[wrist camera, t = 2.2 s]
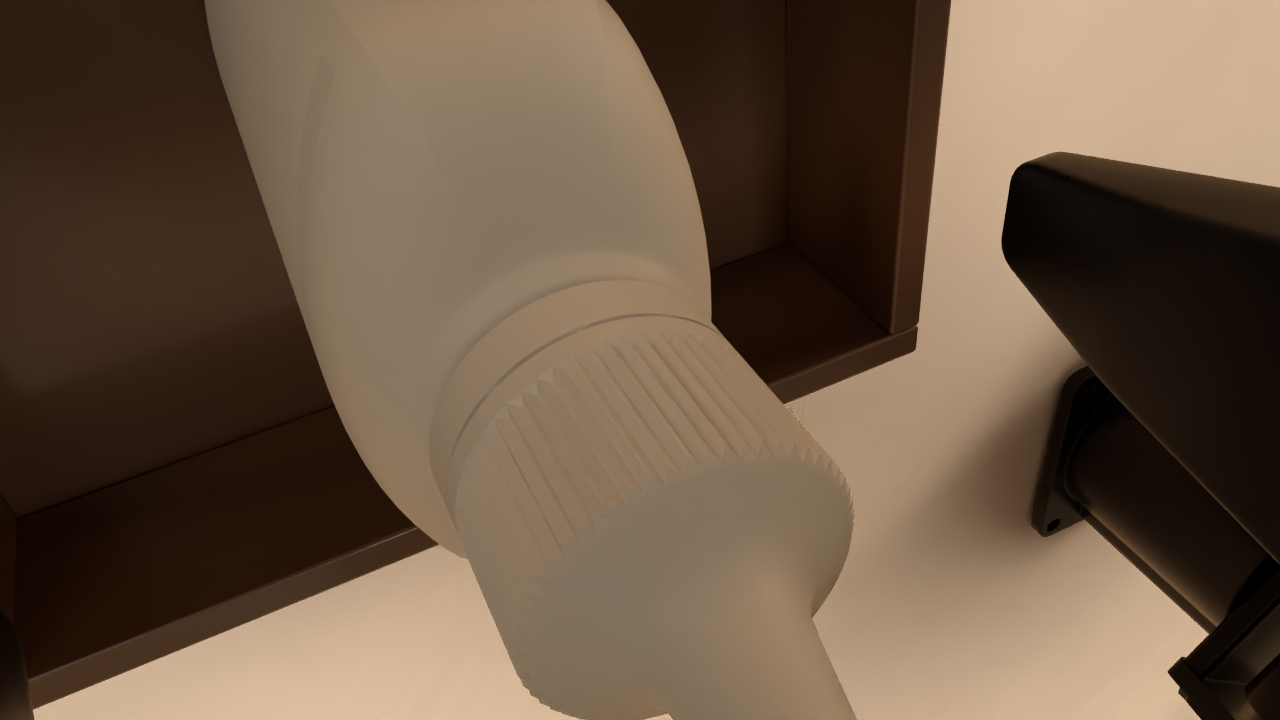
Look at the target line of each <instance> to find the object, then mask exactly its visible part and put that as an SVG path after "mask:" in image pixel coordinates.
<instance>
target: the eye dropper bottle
mask: <svg viewBox="0 0 1280 720" xmlns="http://www.w3.org/2000/svg"><path fill="white" fill-rule="evenodd" d="M204 2H205V8H206V15H207V22H208V28H209V32H210V37H211V42H212V47H213V51H214V55H215V59H216V62H217V66H218V70H219V73H220V77H221V80H222V83H223V86H224V89H225V92H226V94H227V97H228V100H229V103H230V106H231V109H232V112H233V115H234V118H235V121H236V124H237V127H238V130H239V133H240V135H241V138H242V141H243V144H244V147H245V150H246V153H247V156H248V159H249V162H250V165H251V168H252V171H253V174H254V176H255V179H256V182H257V185H258V188H259V191H260V194H261V197H262V200H263V203H264V206H265V209H266V212H267V214H268V217H269V220H270V223H271V226H272V229H273V232H274V235H275V238H276V241H277V244H278V247H279V249H280V252H281V255H282V258H283V261H284V264H285V267H286V270H287V273H288V276H289V279H290V282H291V284H292V287H293V290H294V293H295V296H296V299H297V302H298V305H299V308H300V311H301V314H302V317H303V319H304V322H305V325H306V328H307V331H308V334H309V337H310V339H311V342H312V345H313V348H314V351H315V354H316V357H317V360H318V362H319V365H320V368H321V371H322V374H323V377H324V380H325V382H326V385H327V387H328V390H329V392H330V395H331V397H332V400H333V403H334V405H335V407H336V409H337V412H338V414H339V416H340V418H341V421H342V423H343V425H344V427H345V430H346V431H347V433H348V435H349V437H350V439H351V441H352V442H353V444H354V446H355V448H356V450H357V451H358V453H359V455H360V457H361V458H362V460H363V462H364V463H365V465H366V467H367V468H368V470H369V471H370V472H371V474H372V475H373V477H374V478H375V480H376V481H377V483H378V484H379V485H380V487H381V488H382V489H383V491H384V492H385V493H386V494H387V495H388V497H389V498H390V499H391V500H392V501H393V503H394V504H395V505H396V506H397V507H398V508H399V509H400V510H401V511H402V512H403V513H404V514H405V515H406V516H407V517H408V518H409V519H410V520H411V521H412V522H413V523H414V524H415V525H416V526H417V527H418V528H420V529H421V530H422V531H423V532H424V533H426V534H427V535H428V536H429V537H431V538H432V539H433V540H434V541H436V542H437V543H438V544H440V545H441V546H443V547H445V548H446V549H448V550H450V551H451V552H453V553H455V554H456V555H458V556H460V557H462V558H466V559H468V560H469V562H470V564H471V567H472V569H473V571H474V574H475V576H476V578H477V581H478V583H479V585H480V588H481V590H482V593H483V595H484V597H485V600H486V602H487V604H488V607H489V609H490V611H491V614H492V616H493V618H494V621H495V623H496V626H497V628H498V630H499V633H500V635H501V637H502V640H503V642H504V644H505V647H506V649H507V651H508V654H509V656H510V658H511V661H512V663H513V666H514V668H515V670H516V673H517V675H518V677H520V679H521V681H522V683H523V686H524V687H526V688H528V689H529V691H530V694H531V696H534V697H536V698H538V699H539V701H540V703H542V704H544V705H547V706H550V709H552V710H555V711H558V712H561V713H562V714H565V715H569V716H573V717H576V718H580V719H586V720H640V719H646V718H651V717H655V716H660V715H663V714H667V713H668V714H669V715H670V716H671V717H672V718H673V719H674V720H857V719H856V717H855V715H854V713H853V711H852V708H851V706H850V704H849V702H848V700H847V697H846V695H845V693H844V691H843V689H842V686H841V684H840V682H839V680H838V677H837V675H836V673H835V671H834V669H833V666H832V664H831V662H830V660H829V658H828V655H827V653H826V651H825V649H824V646H823V644H822V642H821V640H820V638H819V635H818V632H817V630H816V627H815V624H814V622H813V619H812V617H813V616H814V614H815V613H816V612H817V611H818V609H819V608H820V607H821V605H822V604H823V602H824V601H825V599H826V598H827V596H828V595H829V593H830V591H831V590H832V588H833V586H834V584H835V583H836V581H837V579H838V577H839V575H840V572H841V570H842V568H843V566H844V563H845V560H846V557H847V554H848V550H849V546H850V542H851V536H852V530H853V524H854V523H853V517H854V510H853V508H852V507H853V498H852V497H851V496H850V487H849V486H848V484H847V483H846V478H845V476H844V475H843V474H842V473H841V471H840V470H839V467H838V466H837V465H836V464H835V463H834V462H833V460H832V459H831V458H830V457H829V456H828V455H827V454H826V452H825V451H824V450H823V449H822V448H821V447H820V446H819V444H818V443H817V442H816V441H815V440H814V439H813V438H812V436H811V435H810V434H809V433H808V432H807V431H806V430H805V428H804V427H803V426H802V425H801V424H800V423H799V422H798V420H797V419H796V418H795V417H794V416H793V415H792V414H791V412H790V411H789V410H788V409H787V408H786V407H785V406H784V405H783V403H782V402H781V401H780V400H779V399H778V398H777V397H776V395H775V394H774V393H773V392H772V391H771V390H770V389H769V387H768V386H767V385H766V384H765V383H764V382H763V381H762V379H761V378H760V377H759V376H758V375H757V374H756V373H755V371H754V370H753V369H752V368H751V367H750V366H749V365H748V363H747V362H746V361H745V360H744V359H743V358H742V357H741V355H740V354H739V353H738V352H737V351H736V350H735V349H734V348H733V346H732V345H731V344H730V343H729V342H728V341H727V340H726V338H725V337H724V336H723V335H722V334H721V333H720V332H719V330H718V329H717V328H716V327H715V326H714V325H713V324H712V322H711V280H710V269H709V260H708V252H707V243H706V235H705V230H704V225H703V220H702V215H701V210H700V205H699V201H698V197H697V193H696V189H695V185H694V182H693V178H692V174H691V171H690V167H689V164H688V161H687V158H686V155H685V153H684V150H683V147H682V144H681V141H680V139H679V136H678V133H677V130H676V127H675V124H674V122H673V119H672V117H671V115H670V112H669V110H668V108H667V105H666V103H665V101H664V98H663V96H662V94H661V91H660V89H659V88H658V86H657V84H656V82H655V80H654V78H653V76H652V74H651V72H650V70H649V68H648V66H647V64H646V62H645V60H644V58H643V56H642V54H641V52H640V50H639V48H638V46H637V45H636V43H635V41H634V40H633V38H632V37H631V35H630V34H629V32H628V30H627V29H626V27H625V26H624V24H623V22H622V21H621V19H620V18H619V16H618V15H617V14H616V12H615V11H614V10H613V9H612V7H611V6H610V5H609V4H608V2H607V1H606V0H204Z"/></svg>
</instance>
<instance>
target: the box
mask: <svg viewBox="0 0 1280 720" xmlns="http://www.w3.org/2000/svg"><path fill="white" fill-rule="evenodd" d="M606 1H607V2H608V4H609V5H610V6H611V7H612V9H613V10H614V11H615V12H616V14H617V15H618V16H619V18H620V19H621V21H622V22H623V24H624V26H625V27H626V29H627V30H628V32H629V34H630V35H631V37H632V38H633V40H634V41H635V43H636V45H637V46H638V48H639V50H640V52H641V54H642V56H643V58H644V60H645V62H646V64H647V66H648V68H649V70H650V72H651V74H652V76H653V78H654V80H655V82H656V84H657V86H658V88H659V89H660V91H661V94H662V96H663V98H664V101H665V103H666V105H667V108H668V110H669V112H670V115H671V117H672V119H673V122H674V124H675V127H676V130H677V133H678V136H679V139H680V141H681V144H682V147H683V150H684V153H685V155H686V158H687V161H688V164H689V167H690V171H691V174H692V178H693V182H694V185H695V189H696V193H697V197H698V201H699V205H700V210H701V215H702V220H703V225H704V230H705V235H706V243H707V252H708V260H709V269H710V280H711V322H712V324H713V325H714V326H715V327H716V328H717V329H718V330H719V332H720V333H721V334H722V335H723V336H724V337H725V338H726V340H727V341H728V342H729V343H730V344H731V345H732V346H733V348H734V349H735V350H736V351H737V352H738V353H739V354H740V355H741V357H742V358H743V359H744V360H745V361H746V362H747V363H748V365H749V366H750V367H751V368H752V369H753V370H754V371H755V373H756V374H757V375H758V376H759V377H760V378H761V379H762V381H763V382H764V383H765V384H766V385H767V386H768V387H769V389H770V390H771V391H772V392H773V393H774V394H775V395H776V397H777V398H778V399H779V400H780V401H781V402H782V403H783V404H786V403H788V402H791V401H793V400H796V399H798V398H801V397H803V396H805V395H808V394H810V393H813V392H815V391H818V390H820V389H823V388H825V387H828V386H830V385H833V384H835V383H837V382H840V381H842V380H845V379H847V378H850V377H852V376H855V375H857V374H860V373H862V372H864V371H867V370H869V369H872V368H874V367H877V366H879V365H882V364H884V363H887V362H889V361H892V360H894V359H896V358H899V357H901V356H904V355H906V354H909V353H911V352H913V351H914V350H915V349H916V341H917V331H918V327H917V324H918V322H919V312H920V302H921V293H922V283H923V273H924V263H925V253H926V243H927V233H928V224H929V214H930V204H931V194H932V184H933V174H934V164H935V154H936V145H937V135H938V125H939V115H940V105H941V95H942V85H943V76H944V66H945V56H946V46H947V36H948V26H949V16H950V6H951V0H606ZM437 545H439V544H438V543H437V542H436V541H434V540H433V539H432V538H431V537H429V536H428V535H427V534H426V533H424V532H423V531H422V530H421V529H420V528H418V527H417V526H416V525H415V524H414V523H413V522H412V521H411V520H410V519H409V518H408V517H407V516H406V515H405V514H404V513H403V512H402V511H401V510H400V509H399V508H398V507H397V506H396V505H395V504H394V503H393V501H392V500H391V499H390V498H389V497H388V495H387V494H386V493H385V492H384V491H383V489H382V488H381V487H380V485H379V484H378V483H377V481H376V480H375V478H374V477H373V475H372V474H371V472H370V471H369V470H368V468H367V467H366V465H365V463H364V462H363V460H362V458H361V457H360V455H359V453H358V451H357V450H356V448H355V446H354V444H353V442H352V441H351V439H350V437H349V435H348V433H347V431H346V430H345V427H344V425H343V423H342V421H341V418H340V416H339V414H338V412H337V409H336V407H335V405H334V403H333V400H332V397H331V395H330V392H329V390H328V387H327V385H326V382H325V380H324V377H323V374H322V371H321V368H320V365H319V362H318V360H317V357H316V354H315V351H314V348H313V345H312V342H311V339H310V337H309V334H308V331H307V328H306V325H305V322H304V319H303V317H302V314H301V311H300V308H299V305H298V302H297V299H296V296H295V293H294V290H293V287H292V284H291V282H290V279H289V276H288V273H287V270H286V267H285V264H284V261H283V258H282V255H281V252H280V249H279V247H278V244H277V241H276V238H275V235H274V232H273V229H272V226H271V223H270V220H269V217H268V214H267V212H266V209H265V206H264V203H263V200H262V197H261V194H260V191H259V188H258V185H257V182H256V179H255V176H254V174H253V171H252V168H251V165H250V162H249V159H248V156H247V153H246V150H245V147H244V144H243V141H242V138H241V135H240V133H239V130H238V127H237V124H236V121H235V118H234V115H233V112H232V109H231V106H230V103H229V100H228V97H227V94H226V92H225V89H224V86H223V83H222V80H221V77H220V73H219V70H218V66H217V62H216V59H215V55H214V51H213V47H212V42H211V37H210V32H209V28H208V22H207V15H206V8H205V2H204V0H0V609H1V610H2V611H3V613H4V614H5V615H6V616H7V617H8V619H9V620H10V621H11V623H12V624H13V626H14V628H15V630H16V632H17V634H18V637H19V639H20V642H21V645H22V649H23V654H24V660H25V666H26V672H27V678H28V684H29V691H30V697H31V703H32V709H36V708H38V707H41V706H43V705H46V704H48V703H50V702H53V701H55V700H58V699H60V698H63V697H65V696H68V695H70V694H73V693H75V692H78V691H80V690H82V689H85V688H87V687H90V686H92V685H95V684H97V683H100V682H102V681H105V680H107V679H110V678H112V677H114V676H117V675H119V674H122V673H124V672H127V671H129V670H132V669H134V668H137V667H139V666H141V665H144V664H146V663H149V662H151V661H154V660H156V659H159V658H161V657H164V656H166V655H169V654H171V653H173V652H176V651H178V650H181V649H183V648H186V647H188V646H191V645H193V644H196V643H198V642H200V641H203V640H205V639H208V638H210V637H213V636H215V635H218V634H220V633H223V632H225V631H228V630H230V629H232V628H235V627H237V626H240V625H242V624H245V623H247V622H250V621H252V620H255V619H257V618H260V617H262V616H264V615H267V614H269V613H272V612H274V611H277V610H279V609H282V608H284V607H287V606H289V605H291V604H294V603H296V602H299V601H301V600H304V599H306V598H309V597H311V596H314V595H316V594H319V593H321V592H323V591H326V590H328V589H331V588H333V587H336V586H338V585H341V584H343V583H346V582H348V581H351V580H353V579H355V578H358V577H360V576H363V575H365V574H368V573H370V572H373V571H375V570H378V569H380V568H382V567H385V566H387V565H390V564H392V563H395V562H397V561H400V560H402V559H405V558H407V557H410V556H412V555H414V554H417V553H419V552H422V551H424V550H427V549H429V548H432V547H434V546H437Z"/></svg>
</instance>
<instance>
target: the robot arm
mask: <svg viewBox="0 0 1280 720" xmlns="http://www.w3.org/2000/svg"><path fill="white" fill-rule="evenodd" d="M1001 243H1002V250H1003V254H1004V257H1005V259H1006V261H1007V263H1008V265H1009V266H1010V268H1011V269H1012V270H1013V272H1014V273H1015V274H1016V276H1017V277H1018V278H1019V279H1020V281H1021V282H1022V283H1023V284H1024V286H1025V287H1026V288H1027V289H1028V291H1029V292H1030V293H1031V294H1032V296H1033V297H1034V298H1035V299H1036V301H1037V302H1038V303H1039V304H1040V306H1041V307H1042V308H1043V309H1044V311H1045V312H1046V313H1047V314H1048V316H1049V317H1050V318H1051V320H1052V321H1053V322H1054V323H1055V325H1056V326H1057V327H1058V328H1059V330H1060V331H1061V332H1062V333H1063V335H1064V336H1065V337H1066V338H1067V340H1068V341H1069V342H1070V343H1071V345H1072V346H1073V347H1074V348H1075V350H1076V351H1077V352H1078V353H1079V355H1080V356H1081V357H1082V358H1083V360H1084V361H1085V362H1086V363H1087V365H1088V366H1086V367H1084V368H1082V369H1079V370H1078V371H1076V372H1074V373H1073V374H1072V375H1071V376H1070V377H1069V378H1068V379H1067V380H1066V382H1065V383H1064V385H1063V388H1062V391H1061V395H1060V399H1059V404H1058V408H1057V412H1056V417H1055V421H1054V425H1053V430H1052V434H1051V439H1050V443H1049V447H1048V452H1047V456H1046V460H1045V465H1044V469H1043V473H1042V478H1041V482H1040V486H1039V491H1038V495H1037V499H1036V504H1035V508H1034V512H1033V517H1032V521H1031V526H1032V527H1033V528H1034V529H1035V530H1036V531H1037V532H1038V533H1039V534H1040V535H1041V536H1042V537H1048V536H1051V535H1053V534H1055V533H1057V532H1059V531H1061V530H1063V529H1065V528H1067V527H1069V526H1071V525H1073V524H1075V523H1078V522H1080V521H1082V520H1085V521H1087V522H1088V523H1089V524H1090V525H1091V526H1092V527H1093V528H1094V529H1095V530H1096V531H1097V532H1099V533H1100V534H1101V535H1102V536H1103V537H1104V538H1105V539H1106V540H1107V541H1108V542H1109V543H1111V544H1112V545H1113V546H1114V547H1115V548H1116V549H1117V550H1118V551H1119V552H1120V553H1121V554H1123V555H1124V556H1125V557H1126V558H1127V559H1128V560H1129V561H1130V562H1131V563H1132V564H1133V565H1134V566H1136V567H1137V568H1138V569H1139V570H1140V571H1141V572H1142V573H1143V574H1144V575H1145V576H1146V577H1148V578H1149V579H1150V580H1151V581H1152V582H1153V583H1154V584H1155V585H1156V586H1157V587H1158V588H1160V589H1161V590H1162V591H1163V592H1164V593H1165V594H1166V595H1167V596H1168V597H1169V598H1170V599H1172V600H1173V601H1174V602H1175V603H1176V604H1177V605H1178V606H1179V607H1180V608H1181V609H1182V610H1183V611H1185V612H1186V613H1187V614H1188V615H1189V616H1190V617H1191V618H1192V619H1193V620H1194V621H1195V622H1197V623H1198V624H1199V625H1200V626H1201V627H1202V628H1203V629H1204V630H1205V631H1206V632H1207V633H1209V635H1208V636H1207V637H1206V638H1205V639H1204V640H1203V641H1202V642H1201V643H1200V644H1199V645H1198V646H1197V647H1196V648H1195V649H1194V650H1193V651H1192V652H1191V653H1190V654H1189V655H1188V656H1187V657H1181V658H1180V659H1179V660H1178V661H1177V662H1176V663H1175V664H1174V665H1173V666H1172V667H1171V668H1170V669H1169V670H1168V673H1169V675H1170V676H1171V677H1172V678H1173V680H1174V681H1175V682H1176V683H1177V684H1178V686H1179V687H1180V689H1179V692H1178V693H1179V694H1180V695H1181V696H1182V697H1183V698H1184V699H1185V700H1186V701H1187V703H1188V704H1189V705H1190V707H1191V708H1192V709H1193V710H1194V711H1195V713H1196V714H1197V715H1198V716H1199V717H1200V719H1201V720H1280V188H1279V187H1273V186H1267V185H1261V184H1255V183H1249V182H1243V181H1236V180H1230V179H1224V178H1218V177H1212V176H1206V175H1200V174H1194V173H1188V172H1182V171H1176V170H1170V169H1164V168H1158V167H1152V166H1146V165H1140V164H1134V163H1128V162H1122V161H1116V160H1110V159H1104V158H1098V157H1092V156H1086V155H1079V154H1073V153H1067V152H1054V153H1050V154H1047V155H1044V156H1042V157H1039V158H1036V159H1033V160H1031V161H1028V162H1025V163H1023V164H1021V165H1020V166H1019V167H1018V168H1017V169H1016V170H1015V172H1014V174H1013V175H1012V178H1011V182H1010V187H1009V194H1008V200H1007V207H1006V213H1005V219H1004V226H1003V232H1002V241H1001ZM0 720H34V715H33V709H32V703H31V697H30V691H29V684H28V678H27V672H26V666H25V660H24V654H23V649H22V645H21V642H20V639H19V637H18V634H17V632H16V630H15V628H14V626H13V624H12V623H11V621H10V620H9V619H8V617H7V616H6V615H5V614H4V613H3V611H2V610H1V609H0Z"/></svg>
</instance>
